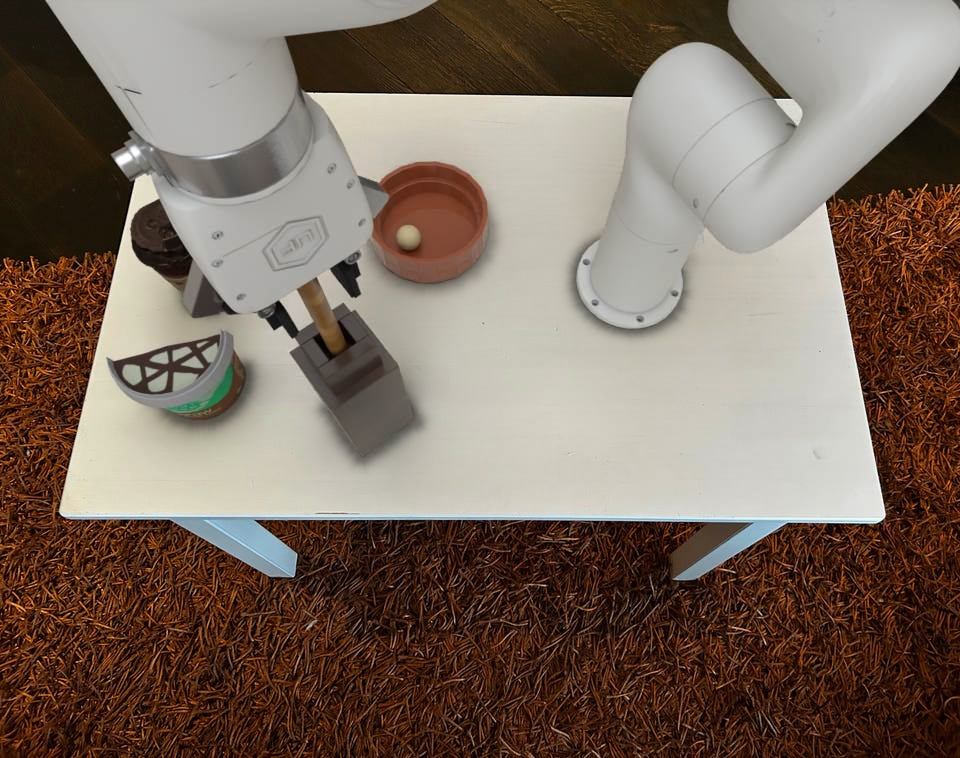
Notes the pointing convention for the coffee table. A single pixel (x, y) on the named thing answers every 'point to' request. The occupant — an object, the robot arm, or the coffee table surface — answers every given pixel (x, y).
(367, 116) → the coffee table surface
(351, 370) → the holder
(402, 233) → the dough ball
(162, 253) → the coffee cup
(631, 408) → the coffee table surface
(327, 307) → the stick
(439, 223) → the bowl
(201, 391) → the food container
